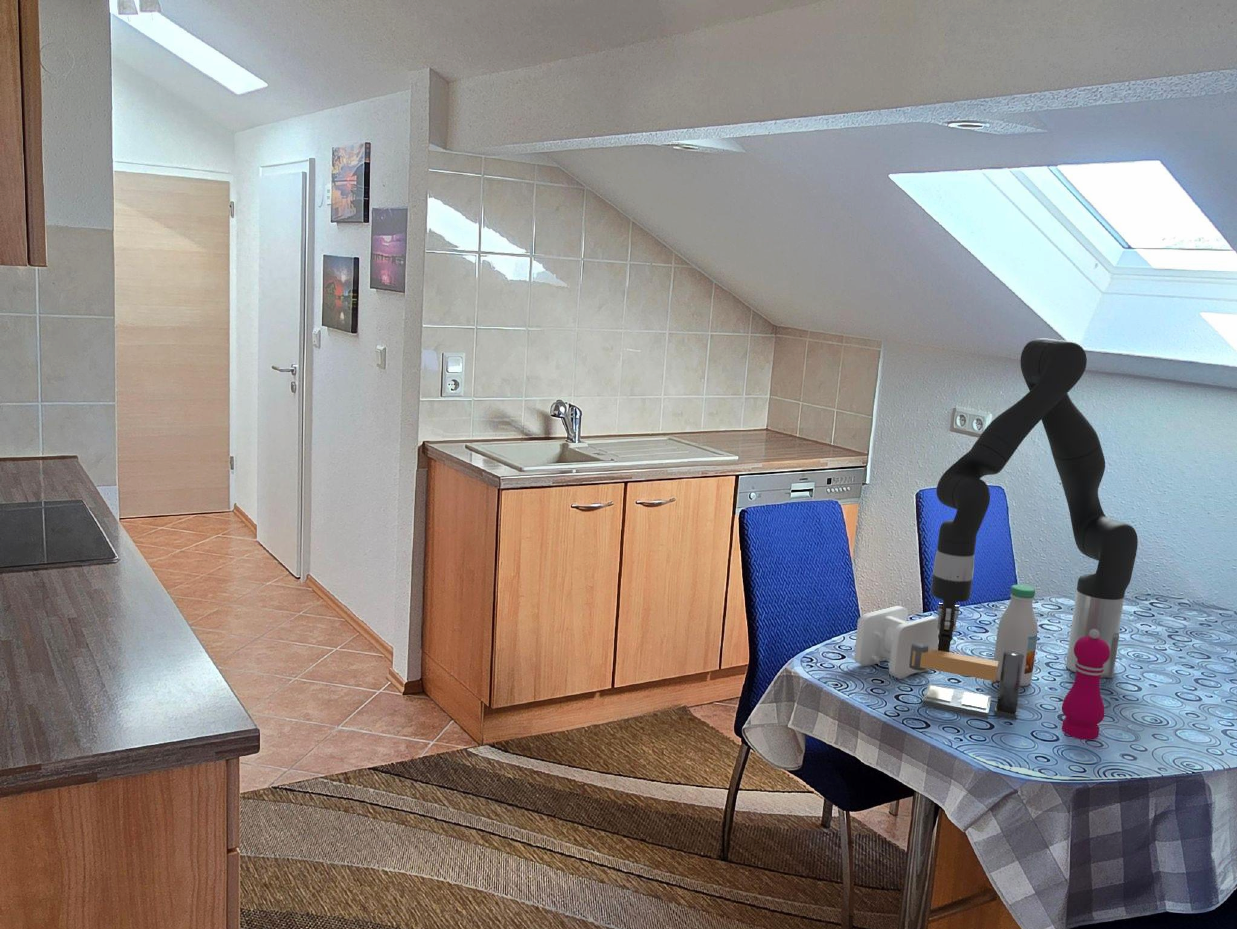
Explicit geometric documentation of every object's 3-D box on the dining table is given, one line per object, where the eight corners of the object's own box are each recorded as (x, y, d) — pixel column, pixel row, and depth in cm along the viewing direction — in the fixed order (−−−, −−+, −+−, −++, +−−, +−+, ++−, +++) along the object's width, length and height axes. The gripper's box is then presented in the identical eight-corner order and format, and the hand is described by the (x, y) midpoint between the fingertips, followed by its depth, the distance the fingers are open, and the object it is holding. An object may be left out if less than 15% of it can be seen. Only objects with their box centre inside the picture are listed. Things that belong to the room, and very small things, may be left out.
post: (1017, 711, 201) (1025, 652, 198) (1016, 719, 197) (1024, 659, 195) (995, 707, 202) (1003, 648, 200) (994, 715, 199) (1001, 655, 196)
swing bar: (996, 679, 201) (999, 657, 200) (995, 685, 198) (997, 663, 197) (910, 663, 207) (912, 642, 206) (908, 668, 204) (910, 647, 203)
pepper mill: (1051, 723, 196) (1065, 622, 192) (1088, 724, 197) (1103, 623, 193) (1070, 741, 189) (1086, 636, 185) (1109, 741, 190) (1125, 637, 186)
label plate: (990, 701, 205) (991, 694, 205) (987, 719, 197) (988, 711, 196) (927, 689, 209) (928, 682, 209) (921, 705, 201) (922, 698, 201)
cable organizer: (891, 683, 212) (897, 629, 209) (850, 666, 220) (855, 613, 217) (936, 669, 221) (942, 616, 219) (895, 653, 229) (900, 602, 227)
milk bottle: (1012, 689, 212) (1025, 594, 208) (983, 675, 218) (995, 583, 215) (1039, 684, 215) (1052, 591, 212) (1009, 670, 222) (1021, 580, 218)
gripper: (973, 585, 199) (962, 671, 202) (972, 568, 212) (962, 649, 215) (932, 580, 201) (921, 665, 205) (934, 562, 214) (924, 643, 217)
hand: (942, 657), depth 210 cm, fingers closed
